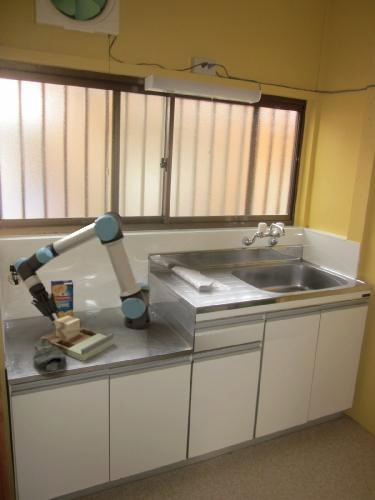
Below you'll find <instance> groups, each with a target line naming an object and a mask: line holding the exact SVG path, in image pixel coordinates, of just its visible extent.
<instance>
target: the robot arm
mask: <svg viewBox="0 0 375 500" xmlns="http://www.w3.org/2000/svg"><path fill="white" fill-rule="evenodd" d="M123 226H124V219H123V218H122V216H121V214H119V213H118V212H116V211H106V212H105V213H103V214H102V215H99V216H98V218H96V219H95V220H94V222H93V223H90V224H89V225H87V226H84V227H83V228H81V229H79V230H76V231H74V232H72V233H71V234H68V235H66V236H64V237H62V238H59V239H58V240H56V241H54V242H52V243H49V244H47V245H45V246H46V247H45V246H44V247H41V248H40V249H38V250H37V251H36V252H35V253H33V254H32V255H31V256H29V258H27V257H22V258H19V259H18V260H16V261H15V262H14V265H13V266H14V268H15V270H16V273H17V275H18V276H19V277H20V278H21V280H22V281H23V284H24V286H25V288H27V290H28V292H29V294H30V295H31V297H32V299H33V300H32V301H30V303H31V304H32V305H33V306H35V308H36V309H37V310H38V311H39V312H40V313H41V314H42V316H43V317H47V318H49V319H50V321H51V322H52V321H53V322H54V324H53V325H54V326H55V327H56V320H58V318H59V317H58V315H57V314H56V312H57V310H58V308H57V305H56V302H55V300H54V294H53V293H52V294H51V293H49V292H48V291H47V290H46V286H45V285H44V284H43V282H42V280H41V278H40V276H39V275H38V273H37V272H38V271H39V270H40V269H41V268H43V267H45V265H46V264H48V263H49V262H50V261H52V260H54V259H55V258H57V257H59V256H61V255H63V254H66V253H68V252H70V251H71V250H74V249H76V248H78V247H80V246H83V245H85V244H86V243H89V242H91V241H93V240H95V239H97V238H98V239H99V241H100V244H101V245H102V246H104V247H105V249H106V252H107V254H108V258H109V261H110V264H111V267H112V269H113V272H114V275H115V279H116V281H117V283H118V286H119V290H120V292H119V294H118V296H119V299H120V302H121V306H120V307H121V312H122V314H123V315H124V318H123V325H124V327H127V328H129V329H133V330H143V329H147V328H149V327H151V326H152V318H151V313H150V309H149V308H150V292H151V289H150V288H151V287H150V285H149V284H148V283H144V282H137V281H136V278H135V275H134V272H133V269H132V267H131V263H130V260H129V257H128V255H127V251H126V248H125V246H124V243H123V240H124V238H125V236H124V233H123V230H122V229H123Z"/></svg>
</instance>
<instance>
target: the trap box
mask: <svg viewBox="0 0 375 500" xmlns="http://www.w3.org/2000/svg"><path fill="white" fill-rule="evenodd" d="M98 333H99V332H98V331H97V332H96V331H94V330H91V329H88V328H85V327H82V326H80V334H79V335H77V336H75V337H73V338H71V339H69V340H66V339H64V338H61V337H58V336H56V330H54V331H52V332H50V333H47V334H45V335H43V336H41V337H39V340H40V339H41V338H46V339H48V340H50V341H51V343H52V346H55V347H57V348H58V349H60V350H61V351H62V352H63V353H64V355H67V356H69V355H68V348H70V347H72V346H74V345H76V344H78V343H80V342H82V341H84V340H86V339H88V338H90V337H92V336H94V335H96V334H98Z"/></svg>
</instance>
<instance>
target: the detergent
mask: <svg viewBox="0 0 375 500" xmlns="http://www.w3.org/2000/svg"><path fill="white" fill-rule="evenodd" d="M34 348H35V352H34V355H33V358H32V361H34V363H35V364H36V365H37V366H38V367H39V368H40V369H42V371H45V372H55V371H58V370H61V369H63V367H65V365H66V363H67V357H66V354H64V353H63V352H62V351H61V350H60V349H58V348H57V347H55V346H52V343H51V341H50V340H48V339H46V338H41V339H39V340H38V341H36V343H35V344H34Z"/></svg>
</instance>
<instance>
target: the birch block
mask: <svg viewBox="0 0 375 500" xmlns="http://www.w3.org/2000/svg"><path fill="white" fill-rule="evenodd" d="M80 322H81V320H80V318H77V317H74V316H73V317H72V316H69V315H67V316H65V317H62V318H60V319H58V320H56V326H55V331H56V336H58V337H61V338H64V339H66V340H69V339H71V338H73V337H75V336H77V335H79V334H80V327H81V324H80Z"/></svg>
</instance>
